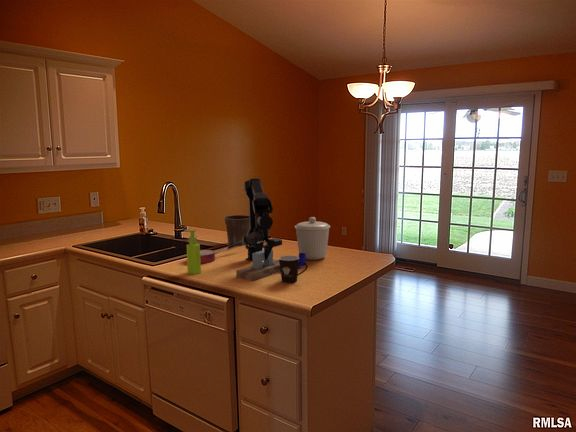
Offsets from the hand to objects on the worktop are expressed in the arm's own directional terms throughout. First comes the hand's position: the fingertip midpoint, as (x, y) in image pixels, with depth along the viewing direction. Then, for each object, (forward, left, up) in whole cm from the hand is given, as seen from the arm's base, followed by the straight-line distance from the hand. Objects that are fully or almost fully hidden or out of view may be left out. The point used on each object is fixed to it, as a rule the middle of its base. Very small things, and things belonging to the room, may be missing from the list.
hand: (263, 259), depth 196 cm
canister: (+2, +35, -6) cm, 36 cm away
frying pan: (-40, +7, -7) cm, 41 cm away
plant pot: (-54, +37, -6) cm, 66 cm away
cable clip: (+7, +15, -7) cm, 18 cm away
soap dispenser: (-26, -19, -6) cm, 33 cm away
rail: (0, 0, -6) cm, 6 cm away
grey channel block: (0, 0, -5) cm, 5 cm away
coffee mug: (+19, -3, -6) cm, 20 cm away
